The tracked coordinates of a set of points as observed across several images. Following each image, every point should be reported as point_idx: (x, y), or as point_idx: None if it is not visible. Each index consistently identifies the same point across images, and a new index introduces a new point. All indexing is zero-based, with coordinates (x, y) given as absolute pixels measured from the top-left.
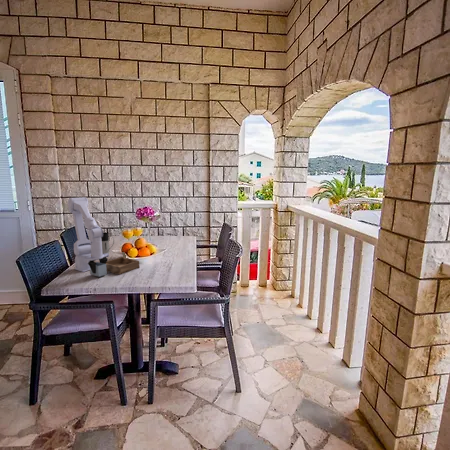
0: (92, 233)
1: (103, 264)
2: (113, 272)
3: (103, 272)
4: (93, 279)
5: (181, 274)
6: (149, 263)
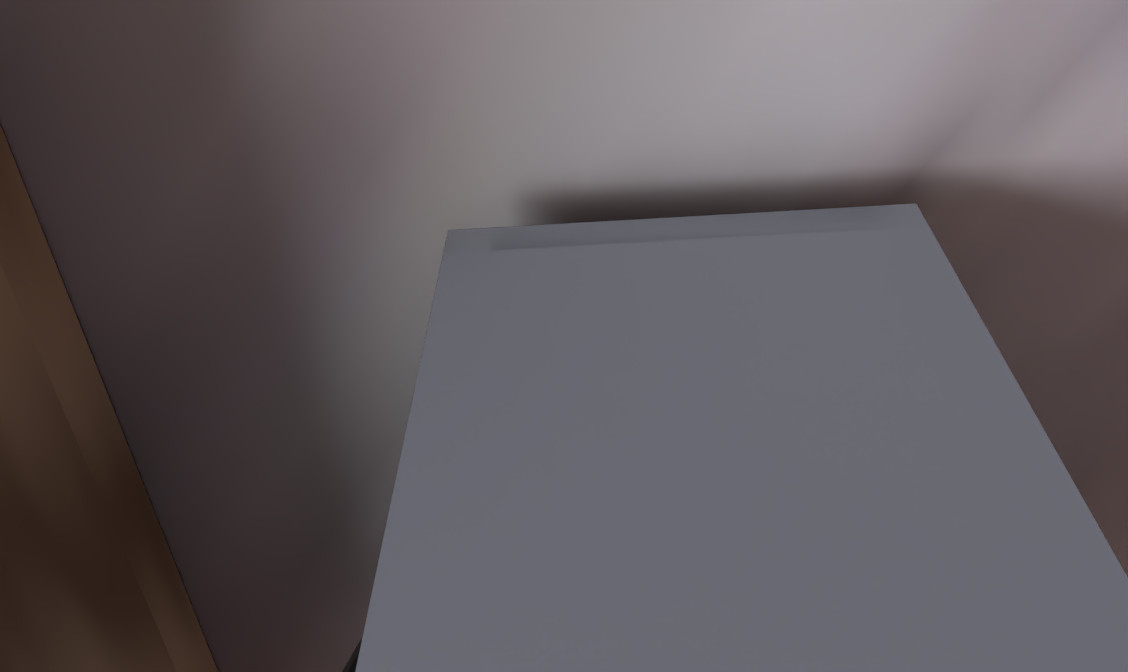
0: None
1: None
2: (41, 269)
3: (650, 302)
4: (1125, 244)
5: None
6: None
